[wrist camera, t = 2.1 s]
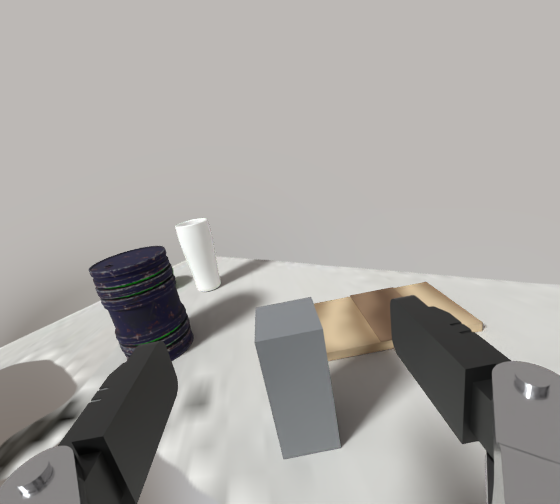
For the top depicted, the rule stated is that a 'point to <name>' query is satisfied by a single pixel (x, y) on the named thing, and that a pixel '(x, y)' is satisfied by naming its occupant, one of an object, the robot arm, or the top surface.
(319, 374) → the tall grey rectangular prism
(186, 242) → the drinking glass
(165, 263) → the storage jar
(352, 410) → the top surface
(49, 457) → the robot arm
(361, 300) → the board
